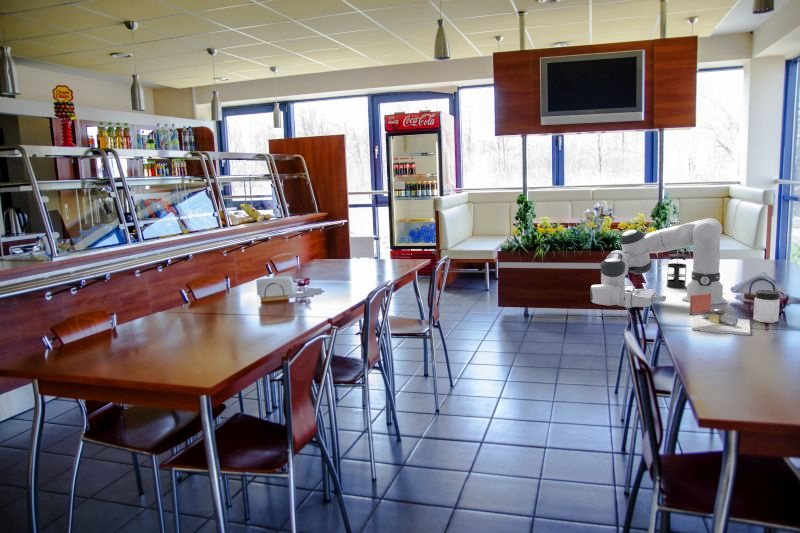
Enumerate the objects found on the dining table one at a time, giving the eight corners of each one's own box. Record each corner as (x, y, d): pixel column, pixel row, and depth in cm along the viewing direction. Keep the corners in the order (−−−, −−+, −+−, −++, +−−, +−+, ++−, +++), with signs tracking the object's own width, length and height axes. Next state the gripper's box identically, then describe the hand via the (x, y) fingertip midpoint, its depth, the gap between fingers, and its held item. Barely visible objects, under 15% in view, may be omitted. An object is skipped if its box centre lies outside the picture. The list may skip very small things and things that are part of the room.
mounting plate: (695, 317, 265) (695, 315, 265) (749, 322, 256) (749, 319, 256) (691, 330, 246) (692, 327, 246) (750, 335, 237) (750, 332, 236)
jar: (770, 324, 252) (772, 294, 251) (749, 320, 259) (751, 291, 257) (781, 320, 257) (783, 292, 255) (761, 317, 264) (763, 289, 262)
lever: (719, 311, 256) (720, 291, 254) (727, 313, 252) (728, 293, 251) (687, 314, 251) (687, 294, 250) (694, 316, 247) (695, 296, 246)
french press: (686, 289, 327) (688, 245, 323) (667, 288, 330) (669, 244, 327) (684, 285, 338) (686, 242, 334) (665, 284, 341) (667, 242, 337)
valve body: (698, 318, 261) (699, 309, 260) (708, 316, 262) (709, 308, 262) (729, 326, 245) (729, 318, 245) (739, 325, 247) (740, 317, 246)
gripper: (632, 298, 270) (667, 301, 264) (625, 308, 253) (662, 311, 246) (633, 284, 269) (668, 286, 263) (626, 293, 252) (663, 295, 245)
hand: (665, 298), depth 254 cm, fingers closed
